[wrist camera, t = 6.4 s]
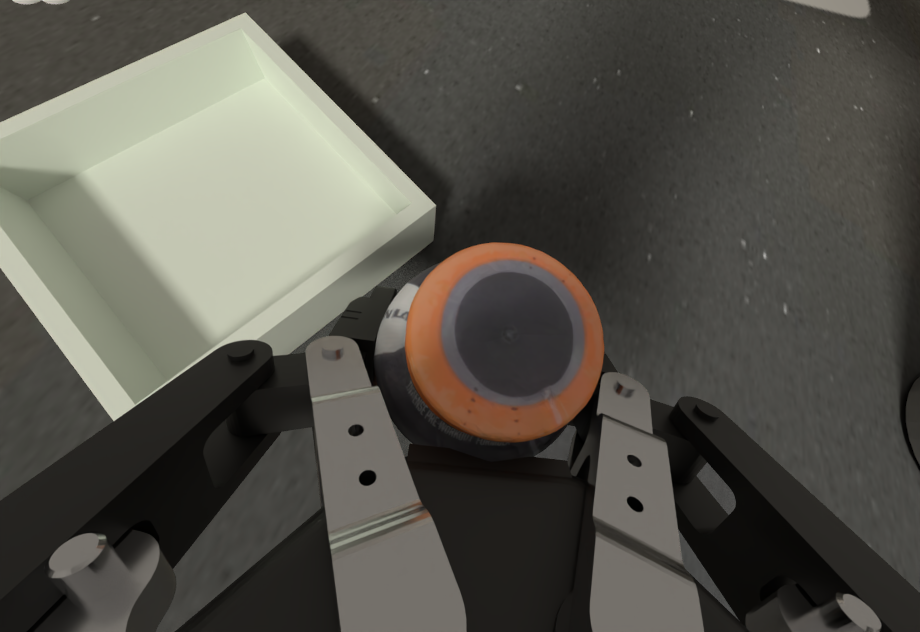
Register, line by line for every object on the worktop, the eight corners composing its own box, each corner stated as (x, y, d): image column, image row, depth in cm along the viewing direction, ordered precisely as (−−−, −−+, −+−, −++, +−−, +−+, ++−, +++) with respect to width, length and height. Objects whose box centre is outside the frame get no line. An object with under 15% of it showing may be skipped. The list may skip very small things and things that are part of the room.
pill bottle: (370, 387, 16) (272, 354, 6) (443, 300, 18) (477, 144, 7) (464, 463, 16) (556, 588, 5) (530, 367, 18) (705, 308, 7)
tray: (273, 76, 21) (245, 12, 17) (433, 240, 19) (436, 205, 16) (20, 207, 17) (-81, 158, 13) (191, 430, 15) (125, 437, 12)
